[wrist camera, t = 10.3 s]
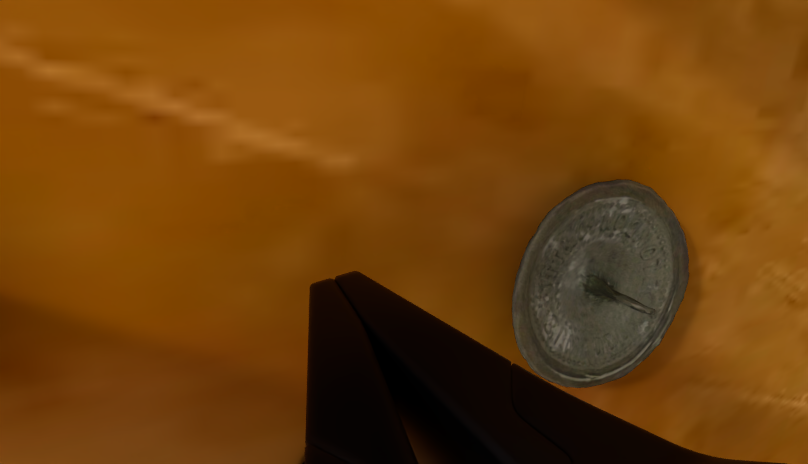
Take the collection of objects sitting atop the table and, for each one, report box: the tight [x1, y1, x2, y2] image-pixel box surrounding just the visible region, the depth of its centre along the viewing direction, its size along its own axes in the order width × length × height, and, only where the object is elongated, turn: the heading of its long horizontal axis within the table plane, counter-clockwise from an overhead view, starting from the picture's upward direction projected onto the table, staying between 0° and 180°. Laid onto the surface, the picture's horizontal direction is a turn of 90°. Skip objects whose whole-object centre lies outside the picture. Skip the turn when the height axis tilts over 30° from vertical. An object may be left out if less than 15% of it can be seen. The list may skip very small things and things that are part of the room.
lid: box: [512, 180, 689, 388], centre depth 26 cm, size 11×10×5 cm
